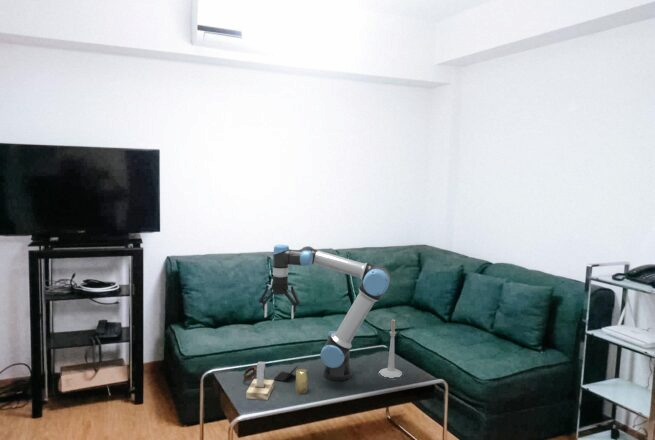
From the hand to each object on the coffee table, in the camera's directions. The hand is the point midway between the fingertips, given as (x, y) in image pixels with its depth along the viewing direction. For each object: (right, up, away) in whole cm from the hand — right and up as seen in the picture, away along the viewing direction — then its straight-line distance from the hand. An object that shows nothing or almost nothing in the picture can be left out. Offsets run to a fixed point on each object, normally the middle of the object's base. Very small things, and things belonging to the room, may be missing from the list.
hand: (279, 317), depth 252 cm
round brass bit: (+12, -33, -12) cm, 37 cm away
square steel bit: (-7, -32, -14) cm, 36 cm away
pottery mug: (-12, -32, -1) cm, 34 cm away
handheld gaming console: (+3, -32, +4) cm, 33 cm away
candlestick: (+58, -33, +14) cm, 68 cm away
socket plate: (-7, -33, -14) cm, 36 cm away
